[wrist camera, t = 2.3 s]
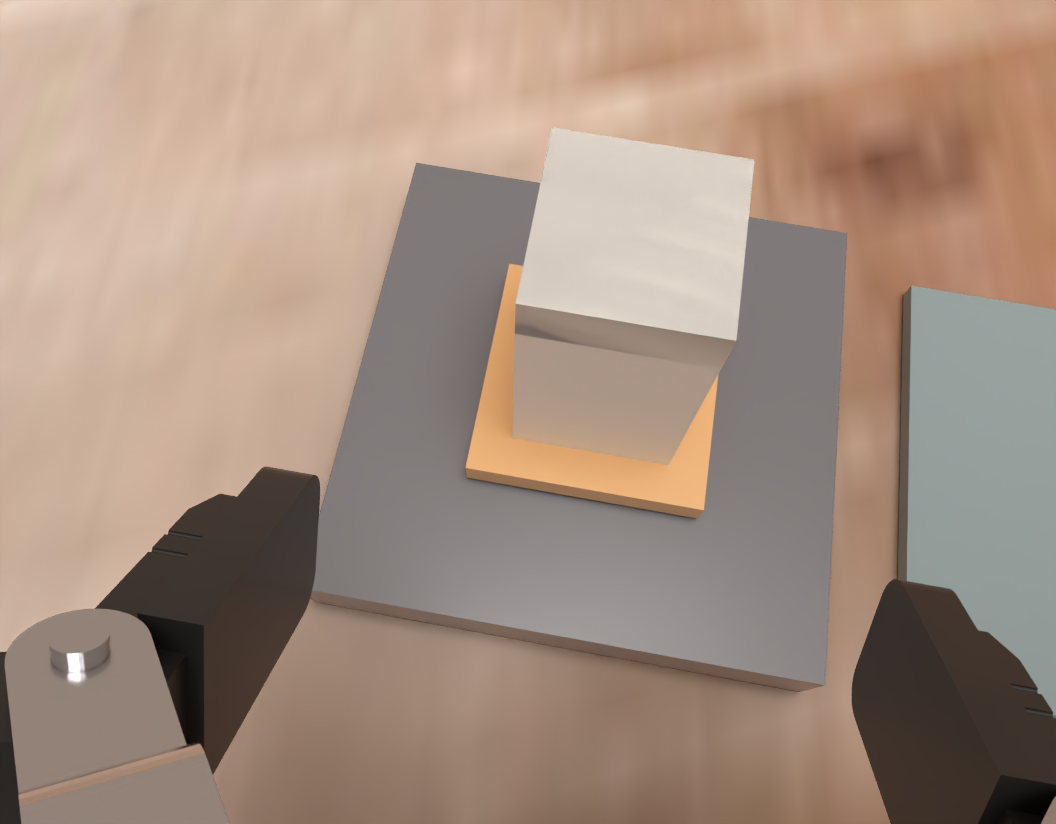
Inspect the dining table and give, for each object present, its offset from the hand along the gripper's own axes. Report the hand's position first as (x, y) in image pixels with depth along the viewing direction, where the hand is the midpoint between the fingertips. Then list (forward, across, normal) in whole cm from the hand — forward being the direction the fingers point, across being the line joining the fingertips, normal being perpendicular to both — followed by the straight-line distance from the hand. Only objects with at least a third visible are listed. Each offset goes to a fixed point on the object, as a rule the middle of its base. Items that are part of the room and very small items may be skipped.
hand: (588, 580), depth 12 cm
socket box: (+13, 0, +3) cm, 14 cm away
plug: (+13, 0, +3) cm, 14 cm away
